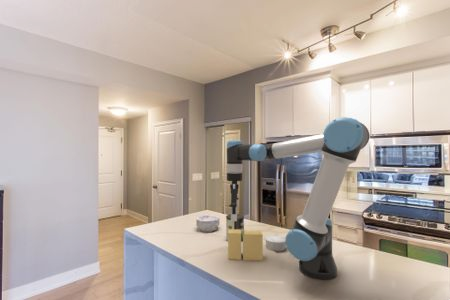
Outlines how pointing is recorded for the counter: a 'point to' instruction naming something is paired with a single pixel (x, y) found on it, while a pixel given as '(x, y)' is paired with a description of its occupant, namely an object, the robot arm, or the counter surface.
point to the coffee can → (235, 224)
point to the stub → (234, 244)
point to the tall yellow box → (252, 245)
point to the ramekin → (276, 242)
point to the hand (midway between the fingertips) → (234, 216)
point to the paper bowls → (207, 222)
